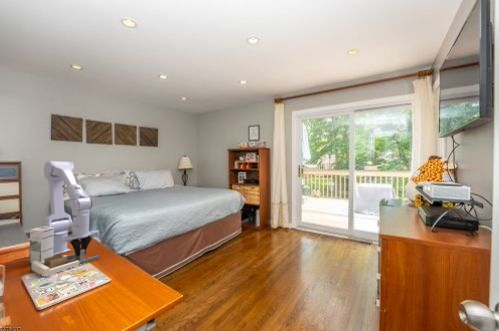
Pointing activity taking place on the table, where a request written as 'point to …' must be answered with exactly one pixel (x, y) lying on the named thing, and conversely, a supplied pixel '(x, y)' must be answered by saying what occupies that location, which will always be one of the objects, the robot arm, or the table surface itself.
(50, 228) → the syrup box
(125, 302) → the table surface
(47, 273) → the frame
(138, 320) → the table surface
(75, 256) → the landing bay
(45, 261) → the lopsided dumbbell
